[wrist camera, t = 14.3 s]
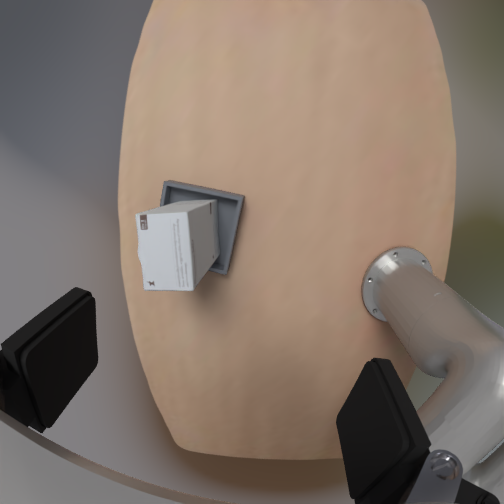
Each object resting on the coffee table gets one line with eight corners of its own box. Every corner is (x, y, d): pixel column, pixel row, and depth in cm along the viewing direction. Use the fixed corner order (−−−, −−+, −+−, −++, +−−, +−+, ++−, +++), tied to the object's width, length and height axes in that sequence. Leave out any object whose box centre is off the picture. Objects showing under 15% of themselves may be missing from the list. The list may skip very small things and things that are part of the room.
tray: (244, 195, 42) (242, 197, 39) (228, 268, 45) (226, 274, 42) (170, 180, 41) (164, 181, 39) (159, 251, 45) (152, 256, 42)
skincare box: (221, 253, 44) (197, 296, 29) (181, 254, 44) (142, 295, 30) (217, 195, 41) (190, 211, 27) (176, 197, 42) (131, 215, 27)
